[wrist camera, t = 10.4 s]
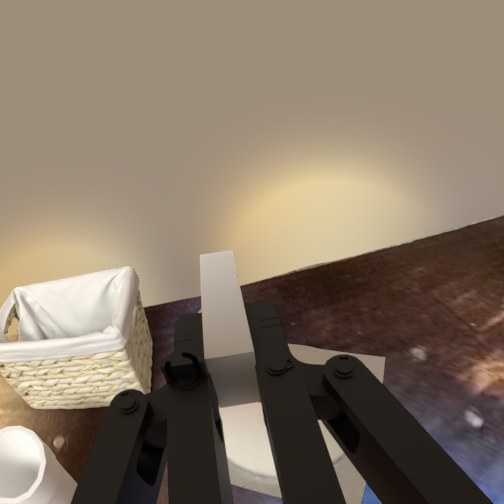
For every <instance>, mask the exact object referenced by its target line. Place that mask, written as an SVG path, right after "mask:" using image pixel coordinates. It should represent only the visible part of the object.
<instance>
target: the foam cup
mask: <svg viewBox="0 0 504 504" xmlns="http://www.w3.org/2000/svg"><path fill="white" fill-rule="evenodd" d="M76 487H77V483H76V481H75V480H74V479H73V478H72V477H71V476H70V475H69V474H68V473H67V471H66V470H65V469H64V468H63V467H62V466H61V464H60V463H59V462H58V461H57V460H56V456H55V455H54V454H53V452H52V451H51V450H50V449H49V447H48V446H47V445H46V444H45V443H44V442H43V441H42V440H41V439H40V438H39V437H38V436H37V435H36V434H35V432H33V431H31V430H29V429H27V428H24V427H22V426H11V427H5V428H3V429H1V430H0V503H1V504H71V501H72V498H73V495H74V493H75V490H76Z"/></svg>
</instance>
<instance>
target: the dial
mask: <svg viewBox="0 0 504 504" xmlns="http://www.w3.org/2000/svg"><path fill="white" fill-rule="evenodd" d="M198 313H202V308H201V309H200V311H199V312H198ZM288 346H289V349H290V352H291V353H292V355H293V356H294V357H295V358H296V359H297V360H299V361H301V362H304V363H307V364H321V365H325V363H326V361H327V360H328V359H330V358H331V357H333V356H334V355H332V354H330V353H328V352H326V351H323V350H321V349H317V348H314V347H310V346H305V345H296V344H288ZM219 413H220V417H221V419H222V425H223V432H224V440H225V448H226V455H227V459H228V460H229V461H231V462H232V463H233V464H235V465H236V466H238V467H240V468H242V469H244V470H246V471H248V472H251V473H254V474H257V475H261V476H265V477H272V478H277V474H276V470H275V465H274V461H273V457H272V452H271V448H270V443H269V439H268V434H267V430H266V425H265V424H264V417H263V410H262V404H261V402H255V403H249V404H243V405H237V406H231V407H224V408H220V407H219ZM318 422H319V425H320V428H321V431H322V434H323V437H324V440H325V443H326V445H327V448H328V451H329V454H330V457H331V460H332V463H334V462H335V461H337V460H338V459H339V458H340V457H341V456H343V455H344V454H345V453H344V452H343V450H342V449H341V448H340V446H339V445H338V444H337V442H336V441H335V439H334V438H333V437H332V435H331V434H330V433H329V431H328V430H327V428H326V427H325V426H324V424H323V423H322V421H321V420H318Z"/></svg>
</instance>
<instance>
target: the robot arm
mask: <svg viewBox="0 0 504 504" xmlns="http://www.w3.org/2000/svg"><path fill="white" fill-rule="evenodd" d="M200 275H201V302H202V313H195V314H188V315H182V316H180V317H179V319H178V320H177V322H176V324H175V333H174V334H175V336H174V352H173V353H171V354H170V355H168V356H167V357H166V358H165V359H164V360H163V361H162V364H161V370H162V372H163V374H164V377H165V379H166V381H167V384H166V385H164V386H163V387H162V388H160V389H158V390H155V391H153V392H150V393H147V394H144V393H142V392H141V391H139V390H136V389H127V390H124V391H121V392H119V393H118V394H117V395H115V396H114V398H113V399H112V401H111V403H110V405H109V407H108V409H107V412H106V414H105V417H104V419H103V421H102V424H101V426H100V428H99V431H98V433H97V436H96V438H95V441H94V443H93V446H92V448H91V451H90V453H89V456H88V458H87V461H86V463H85V466H84V468H83V471H82V474H81V476H80V479H79V482H78V484H77V487H76V490H75V493H74V495H73V498H72V501H71V504H156V502H157V498H158V494H159V490H160V486H161V482H162V478H163V474H164V470H165V467H166V463H167V466H168V497H169V504H234V502H233V495H232V489H231V482H230V476H229V469H228V462H227V455H226V448H225V440H224V432H223V425H222V419H221V417H220V413H219V407H220V408H224V407H231V406H237V405H243V404H249V403H255V402H261V404H262V410H263V417H264V424H265V425H266V430H267V434H268V439H269V443H270V448H271V452H272V457H273V461H274V465H275V470H276V474H277V478H278V483H279V487H280V491H281V495H282V500H283V504H346V501H345V498H344V495H343V492H342V489H341V486H340V483H339V480H338V478H337V475H336V472H335V469H334V466H333V463H332V460H331V457H330V454H329V451H328V448H327V445H326V443H325V440H324V437H323V434H322V431H321V428H320V425H319V422H318V420H321V421H322V423H323V424H324V426H325V427H326V428H327V430H328V431H329V433H330V434H331V435H332V437H333V438H334V439H335V441H336V442H337V444H338V445H339V446H340V448H341V449H342V450H343V452H344V453H345V455H346V456H347V457H348V459H349V460H350V461H351V463H352V464H353V465H354V467H355V468H356V470H357V471H358V472H359V474H360V475H361V476H362V478H363V479H364V480H365V482H366V483H367V484H368V486H369V487H370V488H371V489H372V491H373V492H374V493H375V495H376V496H377V497H378V499H379V500H380V501H381V503H382V504H493V503H492V502H491V500H490V499H489V498H488V497H487V496H486V495H485V494H484V493H483V492H482V491H481V490H480V488H479V487H478V486H477V485H476V484H475V483H474V482H473V481H472V480H471V479H470V478H469V477H468V475H467V474H466V473H465V472H464V471H463V470H462V469H461V468H460V467H459V466H458V465H457V464H456V462H455V461H454V460H453V459H452V458H451V457H450V456H449V455H448V454H447V453H446V452H445V451H444V450H443V448H442V447H441V446H440V445H439V444H438V443H437V442H436V441H435V440H434V439H433V438H432V437H431V435H430V434H429V433H428V432H427V431H426V430H425V429H424V428H423V427H422V426H421V425H420V424H419V423H418V421H417V420H416V419H415V418H414V417H413V416H412V415H411V414H410V413H409V412H408V411H407V410H406V409H405V408H404V406H403V405H402V404H401V403H400V402H399V401H398V400H397V399H396V398H395V397H394V396H393V395H392V394H391V393H390V391H389V390H388V389H387V388H386V387H385V386H384V385H383V384H382V383H381V382H380V381H379V380H378V379H377V378H376V376H375V375H374V374H373V373H372V372H371V371H370V370H369V369H368V368H367V367H366V366H365V365H364V364H363V363H362V362H361V361H360V360H359V359H358V358H356V357H355V356H351V355H348V354H340V355H336V356H333V357H331V358H330V359H328V360H327V361H326V363H325V365H321V364H307V363H304V362H301V361H299V360H297V359H296V358H295V357H294V356H293V355H292V353H291V352H290V349H289V346H288V343H287V340H286V337H285V335H284V332H283V329H282V326H281V323H280V320H279V318H278V314H277V311H276V309H275V307H274V306H273V305H272V304H270V303H269V302H268V301H263V302H258V303H252V304H246V305H244V303H243V299H242V294H241V290H240V285H239V281H238V276H237V271H236V267H235V262H234V258H233V253H232V250H228V251H222V252H216V253H209V254H203V255H200Z"/></svg>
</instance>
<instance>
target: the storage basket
mask: <svg viewBox="0 0 504 504" xmlns="http://www.w3.org/2000/svg"><path fill="white" fill-rule="evenodd" d="M138 286H139V278H138V275H137V274H136V272H135V269H134V268H132V267H131V266H126V267H122V268H116V269H109V270H103V271H98V272H93V273H88V274H83V275H78V276H73V277H68V278H63V279H58V280H52V281H47V282H42V283H36V284H30V285H26V286H21V287H16V288H15V289H14V290H13V291H12V293H11V295H10V296H9V297H8V298H7V300H6V301H5V303H4V304H3V306H2V307H1V309H0V373H1V374H2V375H3V377H4V378H6V381H7V382H8V383H9V384H10V385H11V386H12V387H13V388H14V389H15V391H16V392H17V393H18V394H20V395H21V396H22V398H23V399H24V400H25V401H26V402H27V403H28V404H29V405H30V406H31V407H32V408H35V409H75V408H76V409H84V408H92V407H96V408H100V407H107V406H109V405H110V403H111V401H112V399H113V398H114V396H115V395H117V394H118V393H119V392H121V391H124V390H127V389H136V390H139V391H141V392H142V393H144V394H147V393H150V392H151V391H150V388H151V376H152V372H151V367H152V345H153V342H152V337H151V334H150V331H149V326H148V322H147V319H146V316H145V312H144V308H143V307H142V302H141V300H140V292H139V289H138ZM14 317H16V318H17V319H18V320H19V325H18V329H17V332H18V335H19V338H18V339H17V341H16V342H10V341H9V340H8V339H7V337H6V336H5V334H6V333H8V331H7V330H8V327H9V326H10V325H11V323H12V320H13V319H14Z"/></svg>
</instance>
